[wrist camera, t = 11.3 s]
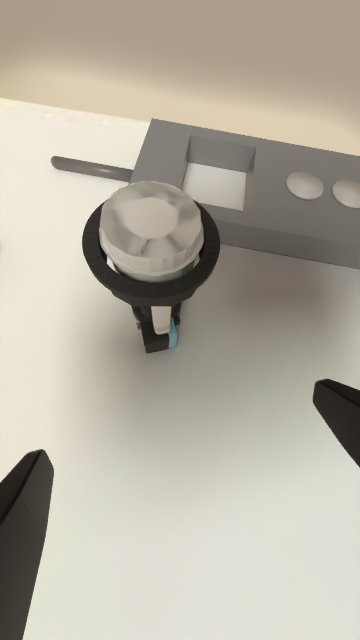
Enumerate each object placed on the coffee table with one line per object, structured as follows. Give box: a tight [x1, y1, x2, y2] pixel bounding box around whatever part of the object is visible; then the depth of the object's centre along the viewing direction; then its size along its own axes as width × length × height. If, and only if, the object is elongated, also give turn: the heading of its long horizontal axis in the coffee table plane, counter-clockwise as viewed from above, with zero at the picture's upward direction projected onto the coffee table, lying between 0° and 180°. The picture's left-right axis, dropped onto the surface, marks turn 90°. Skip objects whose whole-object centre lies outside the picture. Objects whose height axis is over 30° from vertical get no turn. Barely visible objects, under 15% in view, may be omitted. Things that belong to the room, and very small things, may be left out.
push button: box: [82, 181, 220, 353], centre depth 13 cm, size 7×5×10 cm
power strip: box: [51, 118, 360, 269], centre depth 21 cm, size 30×11×3 cm, turn 80°
